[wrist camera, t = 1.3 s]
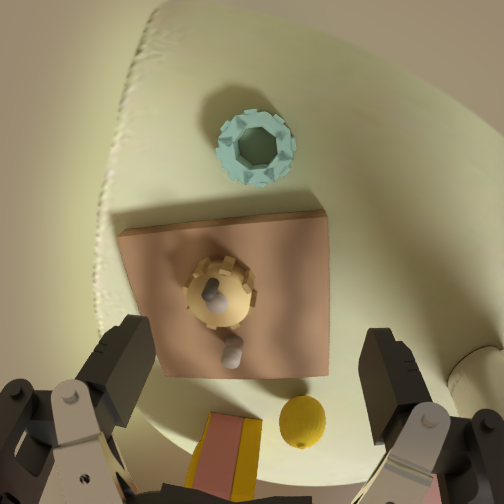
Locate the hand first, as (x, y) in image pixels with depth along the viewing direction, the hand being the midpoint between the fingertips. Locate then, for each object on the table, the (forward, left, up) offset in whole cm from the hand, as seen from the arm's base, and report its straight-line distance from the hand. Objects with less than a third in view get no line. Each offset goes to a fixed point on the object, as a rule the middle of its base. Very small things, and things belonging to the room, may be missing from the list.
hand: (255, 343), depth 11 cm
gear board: (+5, +10, -17) cm, 21 cm away
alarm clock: (+10, +35, -18) cm, 40 cm away
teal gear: (+1, -5, -17) cm, 18 cm away
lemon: (-1, +25, -18) cm, 30 cm away
